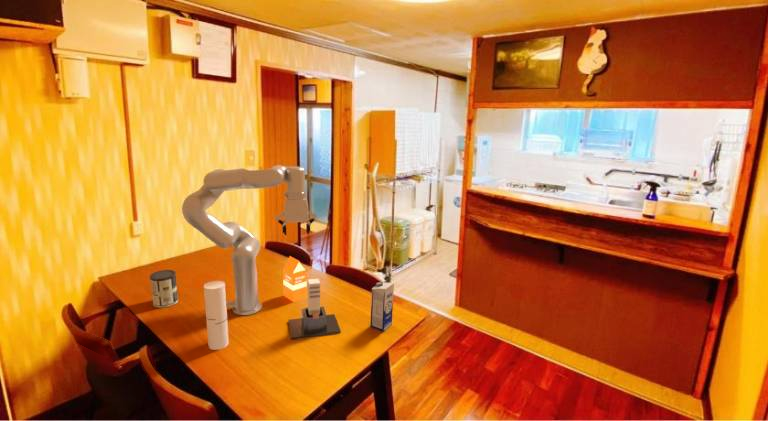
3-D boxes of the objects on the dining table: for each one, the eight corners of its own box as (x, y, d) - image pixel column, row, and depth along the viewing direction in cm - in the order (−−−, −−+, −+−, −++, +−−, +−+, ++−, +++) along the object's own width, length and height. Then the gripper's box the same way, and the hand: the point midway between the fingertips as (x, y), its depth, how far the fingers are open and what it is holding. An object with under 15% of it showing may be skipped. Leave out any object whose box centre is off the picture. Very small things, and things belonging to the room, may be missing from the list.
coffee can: (168, 295, 182) (165, 268, 178) (183, 300, 178) (180, 272, 174) (147, 304, 173) (144, 275, 169) (162, 309, 168) (159, 280, 165)
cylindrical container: (212, 339, 149) (207, 280, 143) (231, 338, 149) (227, 280, 143) (205, 350, 142) (200, 289, 136) (225, 349, 143) (221, 289, 136)
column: (309, 315, 155) (309, 284, 152) (308, 310, 160) (307, 279, 156) (320, 314, 156) (320, 283, 153) (318, 308, 161) (318, 278, 158)
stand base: (291, 339, 150) (290, 320, 148) (288, 321, 163) (288, 303, 161) (340, 333, 157) (341, 314, 155) (334, 316, 170) (334, 298, 167)
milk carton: (383, 332, 159) (385, 288, 154) (370, 327, 162) (371, 284, 157) (392, 324, 165) (394, 282, 160) (379, 320, 168) (380, 278, 163)
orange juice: (297, 291, 192) (296, 254, 187) (306, 297, 186) (306, 259, 181) (283, 295, 186) (282, 257, 181) (292, 302, 180) (292, 263, 175)
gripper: (275, 198, 156) (276, 237, 160) (317, 196, 161) (317, 235, 165) (274, 194, 163) (275, 232, 167) (315, 193, 168) (315, 230, 172)
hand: (296, 233), depth 166 cm, fingers open, 9 cm apart
